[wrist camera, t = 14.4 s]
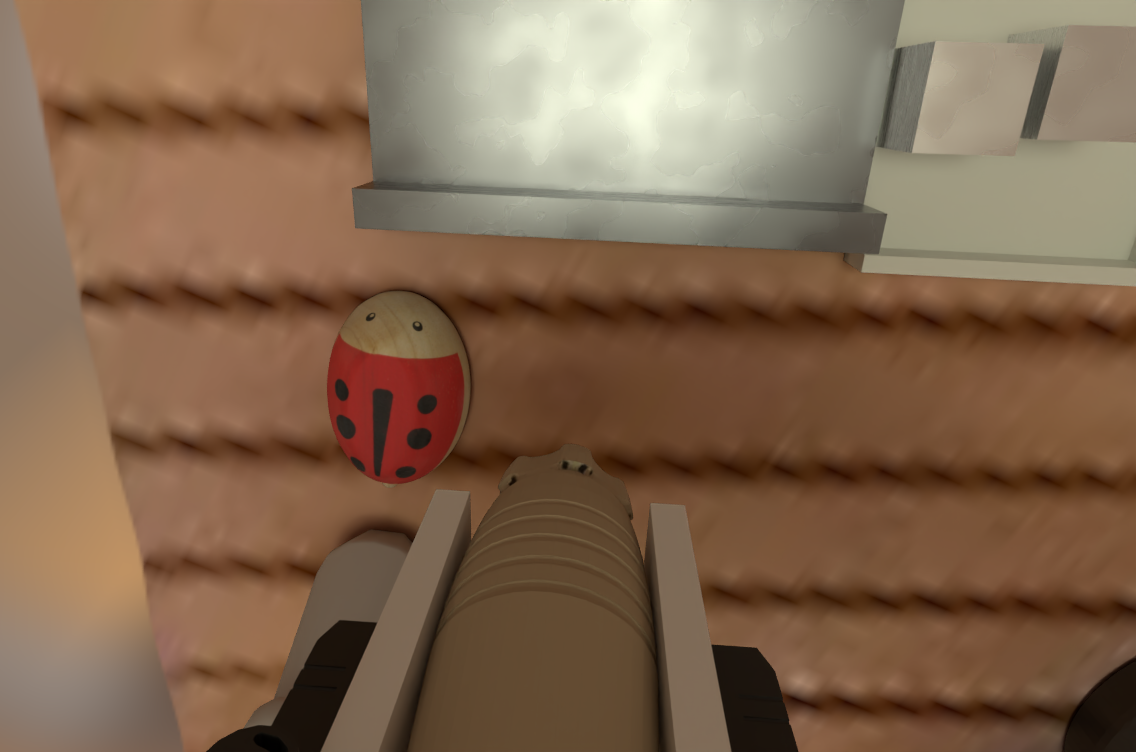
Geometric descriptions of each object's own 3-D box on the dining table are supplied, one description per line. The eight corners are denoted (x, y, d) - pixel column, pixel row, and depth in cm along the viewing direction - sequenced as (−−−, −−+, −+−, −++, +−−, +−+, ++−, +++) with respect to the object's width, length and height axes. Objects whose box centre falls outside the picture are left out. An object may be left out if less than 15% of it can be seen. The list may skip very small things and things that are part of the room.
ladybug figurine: (478, 294, 31) (462, 317, 27) (468, 480, 34) (453, 520, 31) (333, 278, 31) (300, 299, 27) (340, 465, 35) (311, 503, 31)
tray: (1263, -90, 23) (1325, -108, 21) (1130, 274, 28) (1170, 288, 26) (914, -101, 24) (943, -120, 22) (843, 260, 29) (861, 272, 27)
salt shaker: (397, 497, 35) (285, 706, 23) (461, 575, 36) (389, 808, 24) (312, 544, 36) (166, 764, 24) (378, 617, 38) (272, 857, 26)
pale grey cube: (1105, 37, 25) (1181, 27, 22) (1076, 137, 26) (1142, 142, 23) (1008, 34, 25) (1068, 25, 22) (984, 134, 26) (1037, 139, 23)
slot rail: (908, -68, 24) (954, -94, 21) (848, 236, 28) (878, 254, 25) (364, -85, 25) (327, -113, 22) (383, 214, 29) (355, 228, 26)
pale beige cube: (988, 51, 25) (1044, 43, 22) (965, 149, 26) (1014, 156, 23) (893, 49, 25) (935, 41, 22) (875, 146, 27) (911, 152, 23)
